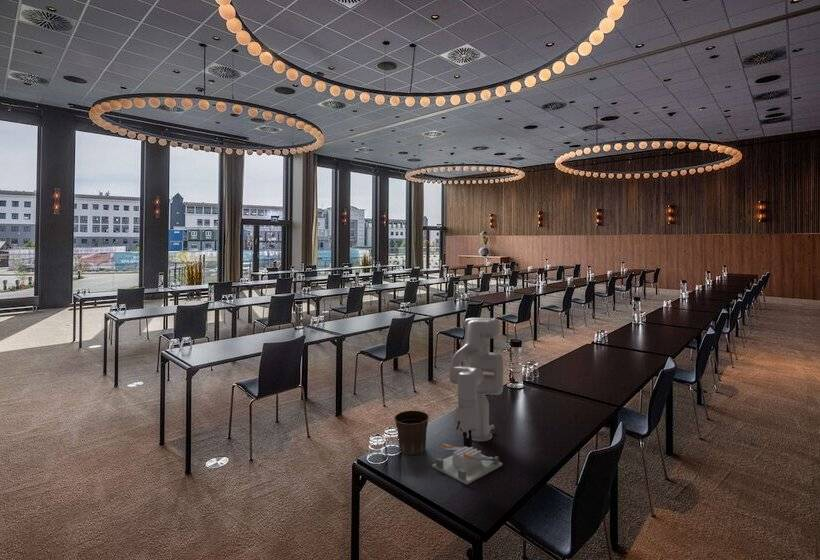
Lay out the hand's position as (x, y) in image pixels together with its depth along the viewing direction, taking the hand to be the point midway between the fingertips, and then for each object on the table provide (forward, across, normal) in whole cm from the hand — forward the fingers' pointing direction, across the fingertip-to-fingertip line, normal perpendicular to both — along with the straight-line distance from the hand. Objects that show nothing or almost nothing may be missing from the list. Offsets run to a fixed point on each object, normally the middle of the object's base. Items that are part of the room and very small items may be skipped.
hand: (467, 445), depth 184 cm
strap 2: (+8, -8, 0) cm, 11 cm away
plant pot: (+13, 0, -35) cm, 37 cm away
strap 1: (+8, -8, -13) cm, 18 cm away
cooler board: (+13, -7, -7) cm, 17 cm away
